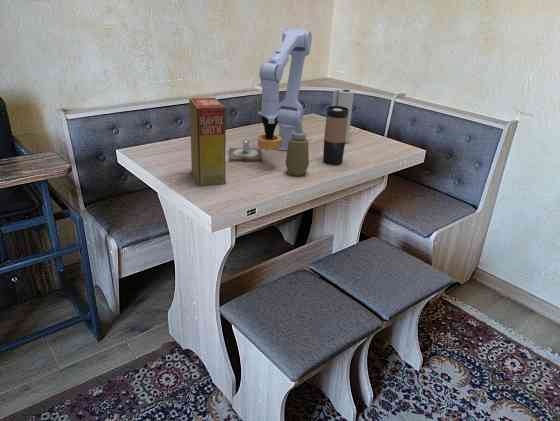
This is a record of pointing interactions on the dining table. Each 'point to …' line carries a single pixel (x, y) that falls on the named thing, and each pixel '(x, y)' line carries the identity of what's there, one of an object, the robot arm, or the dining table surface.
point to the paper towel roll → (344, 105)
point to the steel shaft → (245, 147)
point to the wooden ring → (269, 142)
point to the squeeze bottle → (297, 152)
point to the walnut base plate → (245, 155)
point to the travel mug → (335, 135)
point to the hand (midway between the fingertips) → (268, 138)
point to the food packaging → (208, 140)
